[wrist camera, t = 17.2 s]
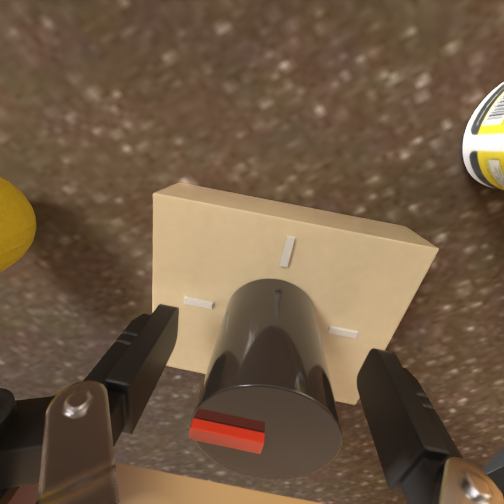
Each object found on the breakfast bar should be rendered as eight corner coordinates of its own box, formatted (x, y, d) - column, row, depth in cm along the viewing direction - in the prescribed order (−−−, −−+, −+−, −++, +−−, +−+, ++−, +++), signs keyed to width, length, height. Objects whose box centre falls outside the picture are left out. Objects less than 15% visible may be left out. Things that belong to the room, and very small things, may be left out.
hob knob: (327, 288, 11) (370, 417, 6) (302, 357, 13) (319, 503, 8) (232, 269, 11) (192, 380, 6) (221, 341, 13) (183, 474, 8)
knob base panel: (405, 226, 13) (442, 250, 10) (343, 363, 17) (356, 408, 14) (179, 182, 13) (150, 193, 10) (172, 327, 17) (150, 365, 14)
